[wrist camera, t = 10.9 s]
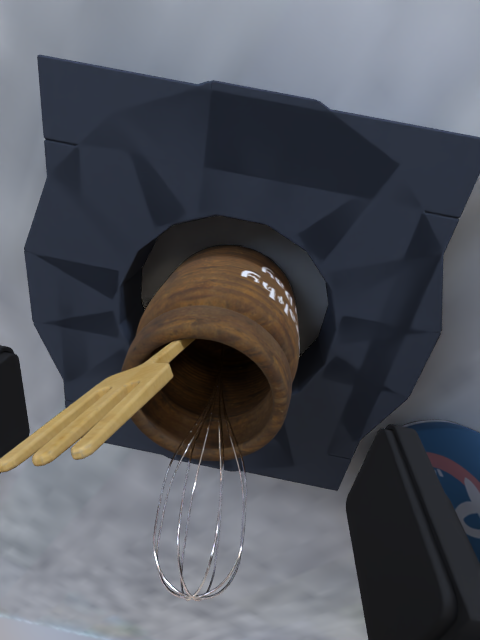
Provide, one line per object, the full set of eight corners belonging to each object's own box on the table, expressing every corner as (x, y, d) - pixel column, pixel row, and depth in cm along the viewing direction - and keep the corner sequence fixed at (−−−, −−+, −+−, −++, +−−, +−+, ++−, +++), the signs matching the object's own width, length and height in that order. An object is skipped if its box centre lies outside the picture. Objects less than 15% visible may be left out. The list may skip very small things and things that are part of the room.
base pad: (46, 56, 13) (-3, 39, 11) (493, 140, 13) (538, 140, 10) (70, 401, 20) (45, 433, 18) (350, 458, 20) (359, 498, 18)
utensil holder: (196, 368, 18) (80, 680, 8) (146, 255, 16) (-128, 488, 5) (309, 343, 17) (355, 681, 6) (273, 215, 15) (252, 421, 4)
